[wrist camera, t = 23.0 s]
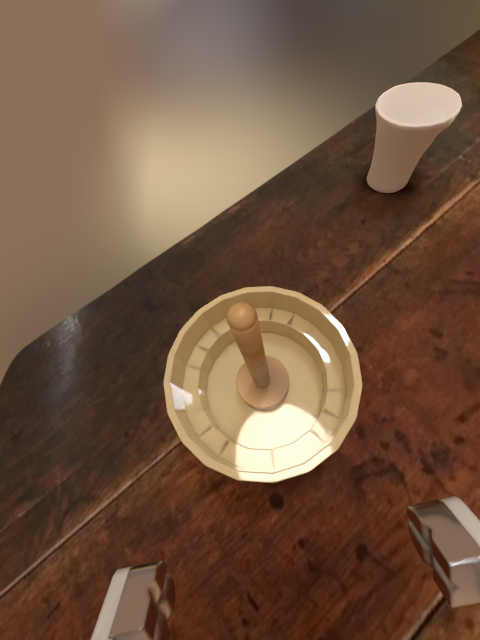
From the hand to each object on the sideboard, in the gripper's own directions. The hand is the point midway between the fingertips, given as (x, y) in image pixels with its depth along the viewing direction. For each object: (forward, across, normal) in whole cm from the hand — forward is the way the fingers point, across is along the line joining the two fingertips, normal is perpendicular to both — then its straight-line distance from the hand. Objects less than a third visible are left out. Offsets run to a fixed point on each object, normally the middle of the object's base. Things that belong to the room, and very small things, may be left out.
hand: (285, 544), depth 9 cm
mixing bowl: (+19, 0, +6) cm, 20 cm away
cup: (+36, -25, -12) cm, 46 cm away
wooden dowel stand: (+18, 0, +5) cm, 19 cm away
